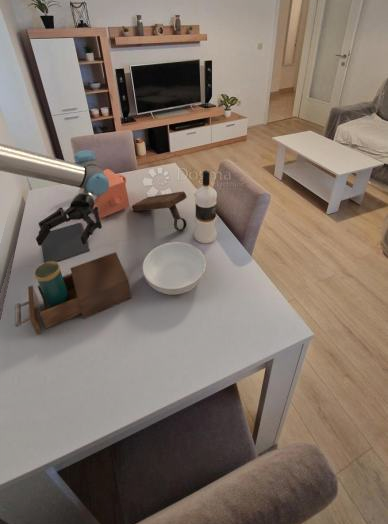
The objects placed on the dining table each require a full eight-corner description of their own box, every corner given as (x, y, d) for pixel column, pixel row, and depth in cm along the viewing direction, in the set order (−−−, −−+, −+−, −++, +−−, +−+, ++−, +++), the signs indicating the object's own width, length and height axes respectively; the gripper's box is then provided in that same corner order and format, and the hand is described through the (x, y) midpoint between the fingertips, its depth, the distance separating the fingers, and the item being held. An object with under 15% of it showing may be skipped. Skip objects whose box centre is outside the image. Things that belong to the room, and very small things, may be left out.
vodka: (194, 229, 117) (193, 165, 102) (215, 229, 117) (218, 165, 102) (193, 244, 109) (193, 177, 94) (217, 244, 109) (220, 177, 94)
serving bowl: (165, 248, 107) (164, 235, 103) (215, 267, 98) (215, 253, 95) (131, 288, 91) (129, 273, 88) (187, 314, 82) (186, 299, 79)
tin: (48, 301, 84) (33, 266, 77) (69, 293, 87) (57, 258, 80) (50, 317, 80) (34, 281, 72) (72, 308, 82) (60, 272, 75)
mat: (40, 234, 115) (40, 233, 115) (80, 223, 121) (80, 222, 121) (44, 266, 100) (43, 265, 99) (89, 250, 106) (89, 249, 106)
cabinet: (83, 319, 81) (77, 300, 77) (76, 286, 92) (70, 268, 87) (131, 298, 88) (128, 279, 83) (119, 269, 98) (115, 251, 94)
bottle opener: (143, 235, 131) (181, 236, 108) (130, 205, 129) (166, 200, 106) (159, 224, 138) (198, 224, 115) (147, 196, 135) (185, 190, 112)
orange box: (145, 213, 128) (141, 179, 119) (99, 234, 115) (90, 198, 106) (120, 191, 144) (115, 160, 135) (77, 207, 132) (68, 174, 123)
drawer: (19, 342, 75) (11, 327, 71) (19, 307, 84) (11, 292, 81) (87, 313, 82) (82, 298, 79) (80, 284, 91) (75, 269, 88)
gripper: (119, 209, 104) (103, 249, 85) (53, 211, 104) (23, 251, 86) (116, 192, 100) (99, 231, 82) (47, 194, 100) (15, 232, 82)
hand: (60, 241), depth 83 cm, fingers open, 13 cm apart
